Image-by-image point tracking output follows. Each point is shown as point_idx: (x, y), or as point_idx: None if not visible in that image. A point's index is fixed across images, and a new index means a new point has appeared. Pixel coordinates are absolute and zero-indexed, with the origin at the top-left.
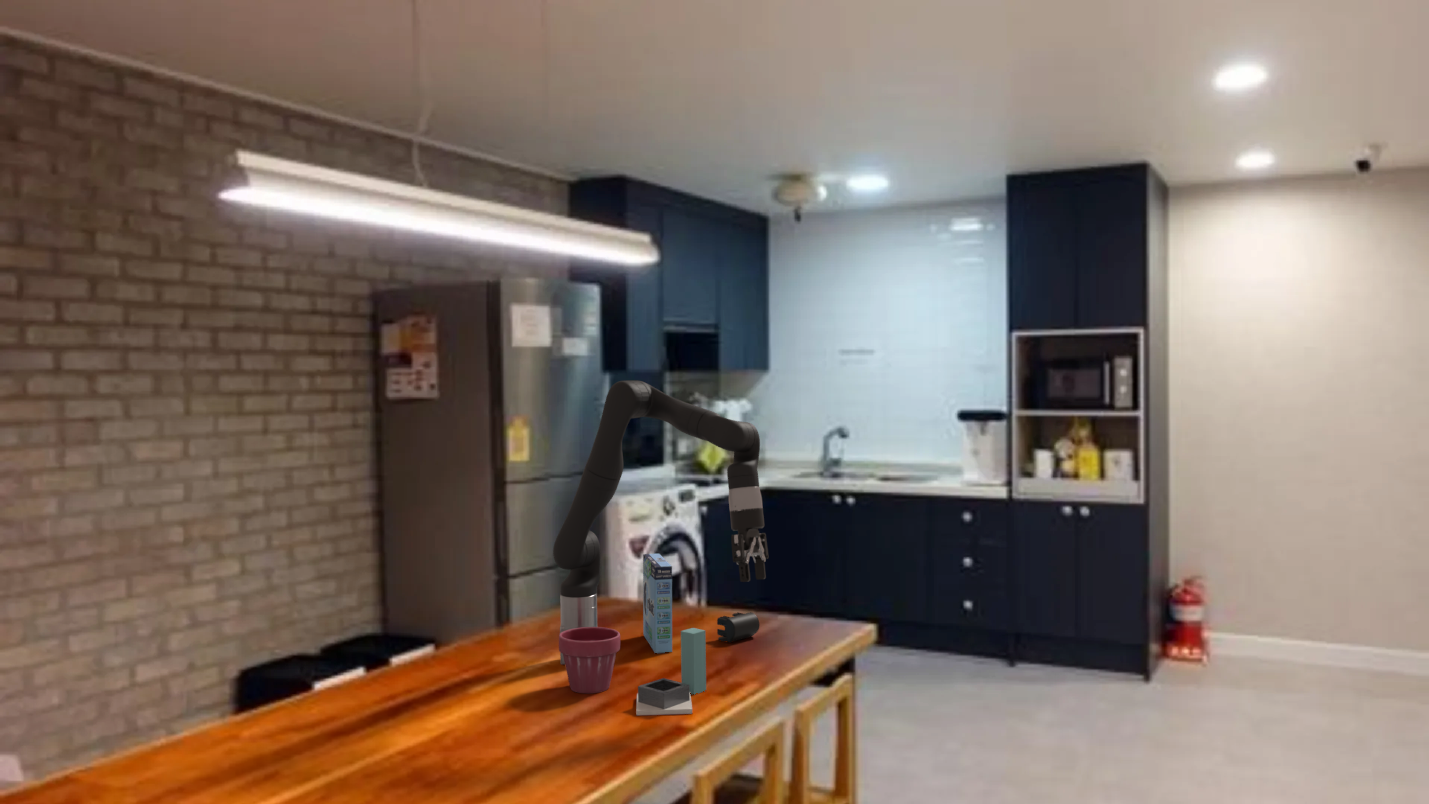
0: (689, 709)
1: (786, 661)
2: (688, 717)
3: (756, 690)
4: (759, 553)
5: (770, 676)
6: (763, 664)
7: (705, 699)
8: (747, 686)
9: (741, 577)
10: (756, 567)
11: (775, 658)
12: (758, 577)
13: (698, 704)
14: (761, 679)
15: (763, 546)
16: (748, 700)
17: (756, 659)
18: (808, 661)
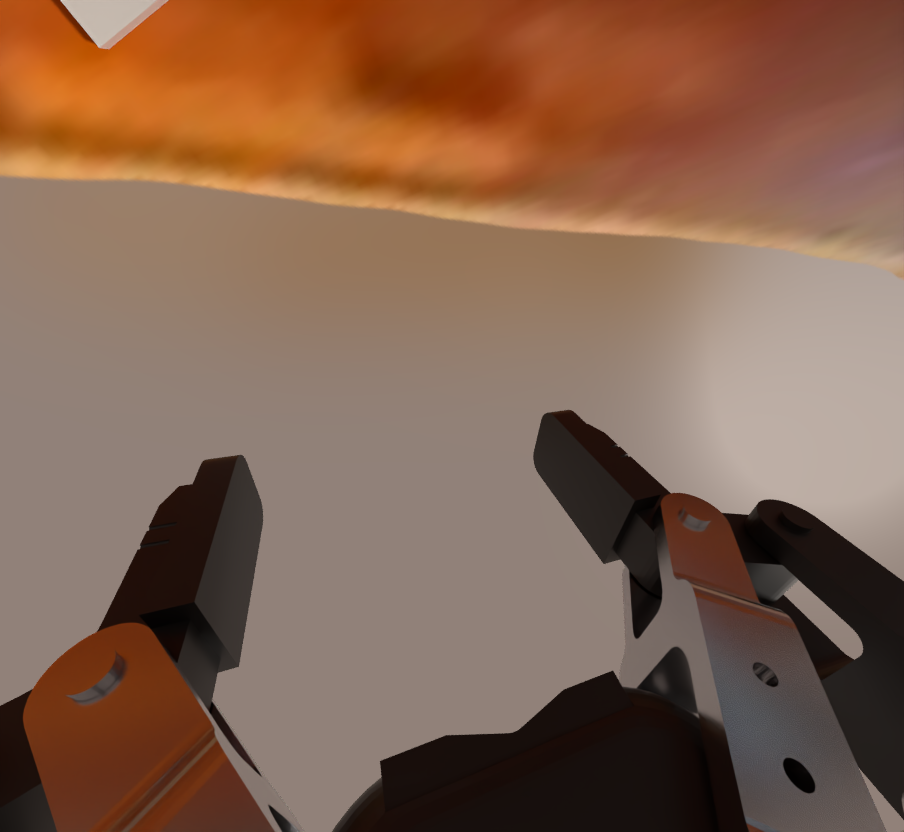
0: (88, 34)
1: (730, 170)
2: (64, 52)
3: (447, 189)
4: (632, 674)
5: (583, 178)
6: (712, 100)
7: (282, 28)
8: (475, 142)
9: (169, 511)
10: (601, 481)
11: (772, 118)
12: (547, 434)
13: (214, 22)
14: (551, 161)
15: (841, 715)
16: (353, 202)
17: (780, 41)
18: (717, 234)
